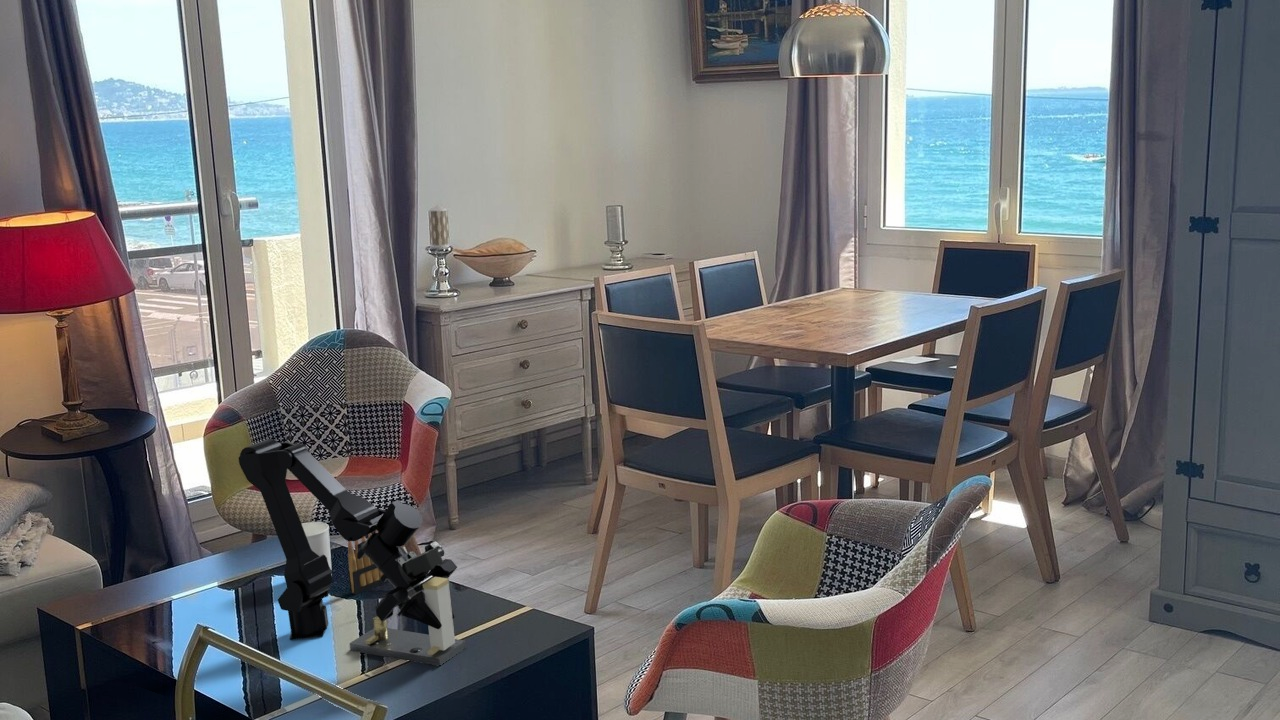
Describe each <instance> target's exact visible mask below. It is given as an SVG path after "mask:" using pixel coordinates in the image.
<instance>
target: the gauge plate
mask: <svg viewBox="0 0 1280 720" xmlns="http://www.w3.org/2000/svg"><path fill="white" fill-rule="evenodd" d="M372 623H373V628H372V629H370V630H368V631H367V632H364V634H362V635H360V636H359V637H357V638H356V639H354V640H352V641H351V642H349V649H350V651H351V652H357V653H363V654H368V655H373V656H380V657H384V658H391V659H396V660H402V661H407V660H409V661H408V662H412V661H416V662H415V663H418V662H420V663H419V664H424V663H425V664H424V665H429V664H432V665H431V666H435V665H438V666H437V667H440V666H439V665H442V664H443V663H444V664H445V662H446V661H447V662H448V660H449V659H450V660H451V659H453V658H454V657H456V656H457V655H458V654H459V652H460V653H461V652H462V651H464V650H465V649H466V647H467V646H466V640H463V639H458V638H457V639H456V638H455V643H454V644H453V645H451V646H450V647H448V648H447V649H446V650H444V651H443V650H439V651H437V652H436V653H434V654H433V655H429V654H428V652H427V651H428V650H430V649H431V646H430V637H429V634H427V633H421V632H414V631H410V630H409V631H408V630H402V629H401V630H400V629H395V628H389V627H388V623H387V619H386V620H385V621H383V622H382V621H381V620H380V619H379V617H378V616H377V615H376V616H374V617H373V618H372ZM464 648H465V649H464ZM463 649H464V650H463ZM456 654H457V655H456ZM452 657H453V658H452ZM450 660H449V661H450ZM421 662H422V663H421ZM447 662H446V663H447ZM426 663H427V664H426ZM444 664H443V665H444ZM443 665H442V666H443Z"/></svg>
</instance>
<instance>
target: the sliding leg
mask: <svg viewBox="0 0 1280 720" xmlns="http://www.w3.org/2000/svg"><path fill="white" fill-rule="evenodd" d="M423 588H424V592H423V595H424V597H425V601H424V602H425V603H426V604H427V606H428V607H429V608H430V609H431V611H432V612H433V613H434V615H435V616H436V617H437V618H438V620H439V621H440V623H441V624H442V627H441V628H440V629H436V628H434V627H431V626H429V625H427V626H428V627H427V628H428V635H429V637H430V646H431V649H430V650H428V651H427V652H428V654H429V655H433V654H434V653H436V652H437V651H439V650H443V651H444V650H446V649H447V648H448V647H450V646H451V645H453V644H454V643H455V639H456V637H455V628H454V619H453V618H452V611H453V609H452V602H451V593H450V592H451V591H450V579H449V578H441V577H434V578H432V579H430V580H429V581H427V582H425V583H424V584H423Z"/></svg>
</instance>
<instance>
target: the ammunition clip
mask: <svg viewBox="0 0 1280 720" xmlns="http://www.w3.org/2000/svg"><path fill="white" fill-rule="evenodd" d="M374 533H378V531H377V530H376V531H374ZM372 534H373V533H371V534H369V535H367V536H368V537H367V538H366V536H365V537H363V538H361V539H359V540H357V541H354V545H353V541H347V542H348V543H347V553H348V554H347V555H348V556H347V557H348V558H347V561H348V570H347V571H348V582H349V593H350V594H352V595H359V594H361V593H364V592H366V591H368V590H370V589H373V588H376V587H378V586H381V585H384V584H386V583H388V582H389V580H387V581H385V582H383V581H382V580H381V579H380V578H381V577H382V575H383V573H382V572H381V571H380V570H379V569H378V568H377V566H376V565H375V564H374V563H373V562H372V561H371V560H370V558H369V557H368V556H365V557H363V558H361V559H358V558H357V552H358V546H357V545H358V544H360V543H362V542H363V541H366V540H367V539H368V538H369V537H370V536H371V535H372ZM360 540H361V541H360Z"/></svg>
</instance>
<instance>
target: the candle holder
mask: <svg viewBox="0 0 1280 720" xmlns="http://www.w3.org/2000/svg"><path fill="white" fill-rule="evenodd" d="M301 524H302V526H303V529H304V532H305V534H306V537H307V540H308V542H309V545H310V547H311V549H312V551H314V552H315V553H316V554H317V555H319V556H321V555H325V556H326V557H327V561H328V565H329V567H330V569H331V570H332V571H333V569H332V556H331V543H330V542H331V541H330V525H329V524H327V523H326V522H322V521H310V522H303V523H302V522H301ZM331 575H332V576H333V573H332V574H331Z"/></svg>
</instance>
